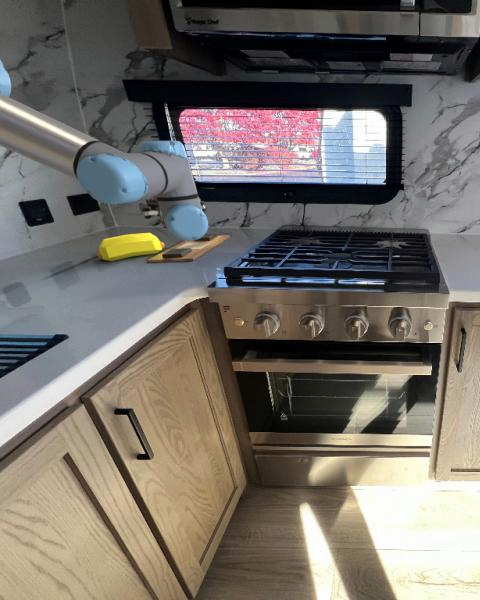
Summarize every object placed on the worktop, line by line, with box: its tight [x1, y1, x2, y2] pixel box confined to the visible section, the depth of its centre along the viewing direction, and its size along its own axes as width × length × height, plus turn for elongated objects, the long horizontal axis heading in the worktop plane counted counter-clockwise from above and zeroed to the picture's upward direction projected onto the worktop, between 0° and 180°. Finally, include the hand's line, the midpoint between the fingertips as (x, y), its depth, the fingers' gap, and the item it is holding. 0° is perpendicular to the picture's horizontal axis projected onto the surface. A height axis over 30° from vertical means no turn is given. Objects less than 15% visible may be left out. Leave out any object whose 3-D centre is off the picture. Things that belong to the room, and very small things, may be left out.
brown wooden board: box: [146, 233, 231, 264], centre depth 114 cm, size 14×28×2 cm, turn 3°
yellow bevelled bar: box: [96, 232, 166, 262], centre depth 107 cm, size 18×7×8 cm
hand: (168, 201), depth 95 cm, fingers closed on soda can, 7 cm apart
